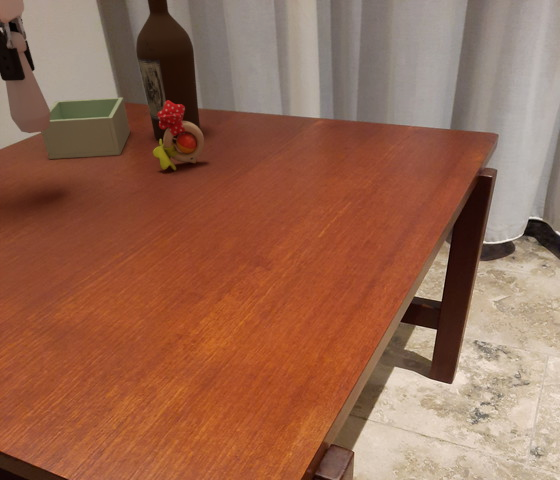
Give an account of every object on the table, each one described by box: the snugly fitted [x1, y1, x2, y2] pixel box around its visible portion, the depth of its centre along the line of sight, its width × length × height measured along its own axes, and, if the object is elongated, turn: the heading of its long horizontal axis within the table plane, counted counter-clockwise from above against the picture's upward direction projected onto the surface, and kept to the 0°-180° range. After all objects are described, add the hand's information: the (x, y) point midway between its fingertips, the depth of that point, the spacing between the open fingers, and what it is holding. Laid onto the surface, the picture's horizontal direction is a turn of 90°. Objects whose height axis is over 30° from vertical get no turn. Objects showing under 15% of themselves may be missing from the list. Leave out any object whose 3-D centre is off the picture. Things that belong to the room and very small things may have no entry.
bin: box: [40, 96, 131, 160], centre depth 109 cm, size 14×14×7 cm
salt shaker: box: [1, 31, 50, 134], centre depth 82 cm, size 6×6×13 cm
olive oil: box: [135, 0, 201, 143], centre depth 106 cm, size 11×11×25 cm
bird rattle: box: [152, 100, 205, 172], centre depth 98 cm, size 6×11×9 cm
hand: (18, 74), depth 81 cm, fingers closed on salt shaker, 4 cm apart
